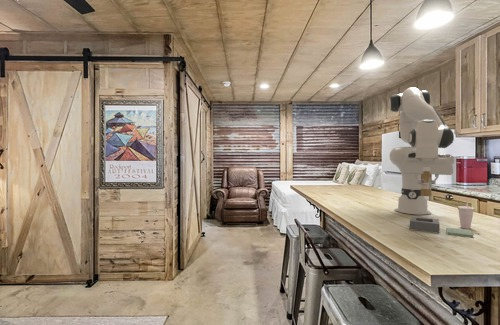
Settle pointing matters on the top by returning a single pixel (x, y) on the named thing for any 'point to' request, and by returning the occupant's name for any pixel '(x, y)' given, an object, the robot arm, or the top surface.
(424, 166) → the robot arm
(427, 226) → the socket block
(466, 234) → the rubber mat
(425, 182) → the sprinkles bottle
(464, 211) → the smoothie
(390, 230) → the top surface
